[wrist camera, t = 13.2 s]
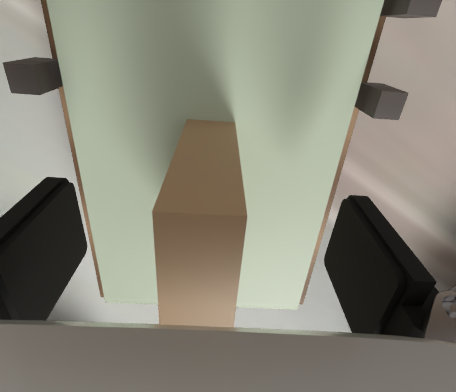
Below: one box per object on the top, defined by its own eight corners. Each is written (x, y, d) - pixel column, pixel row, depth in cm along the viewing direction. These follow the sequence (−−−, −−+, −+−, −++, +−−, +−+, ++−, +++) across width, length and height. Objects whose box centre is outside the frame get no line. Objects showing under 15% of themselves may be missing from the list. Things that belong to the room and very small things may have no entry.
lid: (294, 296, 19) (334, 451, 12) (110, 289, 18) (43, 447, 12) (377, -21, 11) (654, -102, 4) (51, -52, 10) (-309, -211, 3)
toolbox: (291, 238, 26) (321, 332, 18) (122, 230, 25) (76, 324, 17) (349, -17, 17) (461, -54, 9) (86, -41, 16) (-45, -105, 8)
